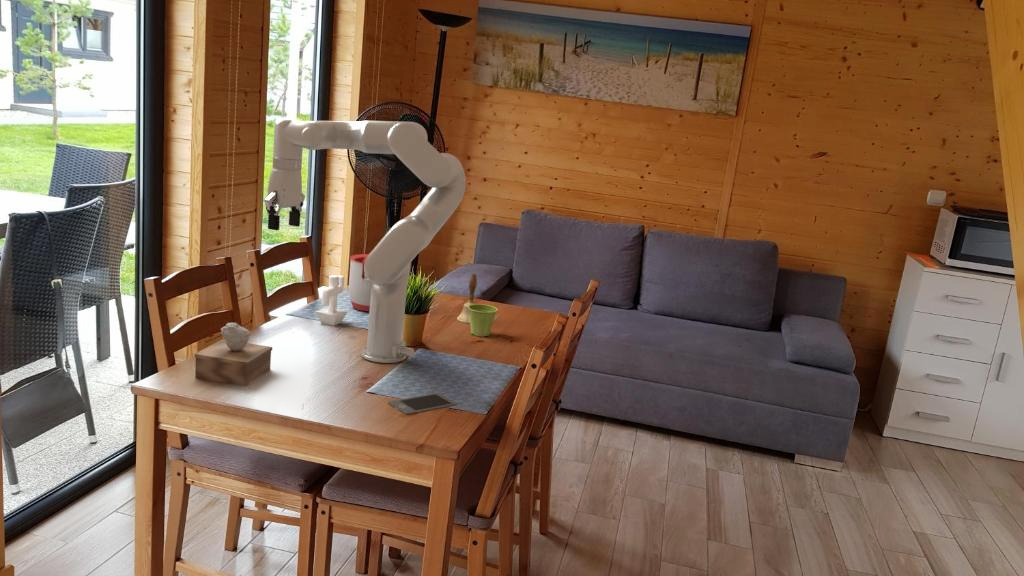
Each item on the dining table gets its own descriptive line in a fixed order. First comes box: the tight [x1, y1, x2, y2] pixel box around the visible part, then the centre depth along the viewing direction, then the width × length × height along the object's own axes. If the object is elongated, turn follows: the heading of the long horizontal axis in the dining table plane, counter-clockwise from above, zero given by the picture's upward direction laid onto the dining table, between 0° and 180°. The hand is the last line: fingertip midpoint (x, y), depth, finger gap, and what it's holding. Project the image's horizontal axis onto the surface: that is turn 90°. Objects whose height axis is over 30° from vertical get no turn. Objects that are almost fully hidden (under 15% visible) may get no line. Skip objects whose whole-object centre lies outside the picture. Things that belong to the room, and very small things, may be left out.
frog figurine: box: [220, 322, 252, 351], centre depth 199 cm, size 6×7×7 cm
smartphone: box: [387, 392, 457, 415], centre depth 196 cm, size 15×8×1 cm, turn 131°
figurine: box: [315, 275, 349, 327], centre depth 251 cm, size 7×9×15 cm
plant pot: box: [468, 303, 499, 338], centre depth 258 cm, size 9×9×9 cm
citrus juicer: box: [348, 250, 372, 312], centre depth 272 cm, size 16×17×20 cm
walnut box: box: [194, 338, 273, 387], centre depth 201 cm, size 13×13×6 cm
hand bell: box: [456, 273, 478, 324], centre depth 272 cm, size 8×8×16 cm
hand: (284, 227), depth 223 cm, fingers open, 9 cm apart
